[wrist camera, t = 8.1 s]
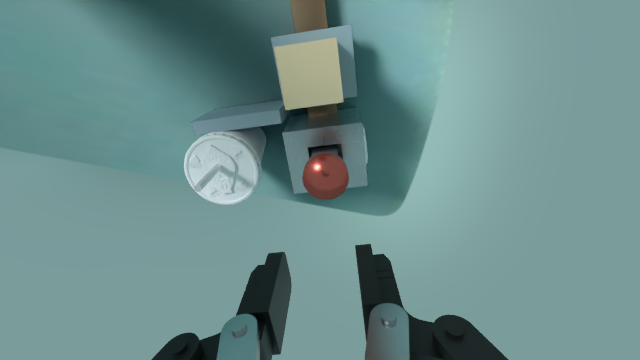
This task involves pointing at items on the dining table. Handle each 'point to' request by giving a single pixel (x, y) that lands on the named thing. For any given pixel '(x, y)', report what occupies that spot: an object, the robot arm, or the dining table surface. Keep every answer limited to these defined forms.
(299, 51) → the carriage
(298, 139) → the gauge cabinet
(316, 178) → the gauge button
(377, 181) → the dining table surface
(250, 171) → the smoothie
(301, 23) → the rail
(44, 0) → the dining table surface
